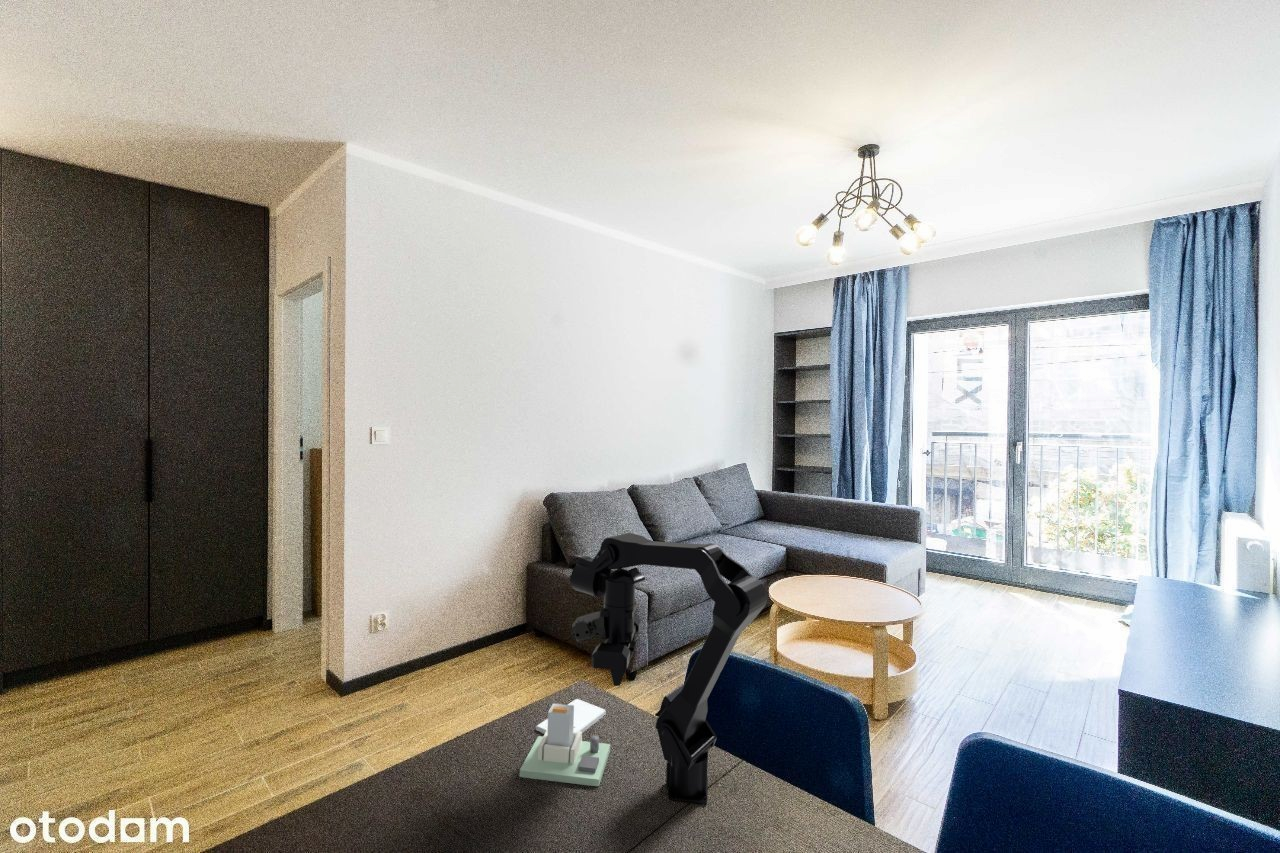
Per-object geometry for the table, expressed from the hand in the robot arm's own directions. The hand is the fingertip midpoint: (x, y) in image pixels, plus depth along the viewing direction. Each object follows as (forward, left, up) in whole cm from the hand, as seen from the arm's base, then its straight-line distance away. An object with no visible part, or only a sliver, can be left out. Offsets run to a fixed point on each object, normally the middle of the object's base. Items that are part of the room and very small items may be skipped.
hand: (617, 684), depth 100 cm
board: (+8, +5, -12) cm, 16 cm away
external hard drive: (+10, -8, -13) cm, 19 cm away
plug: (+9, +4, -11) cm, 15 cm away
